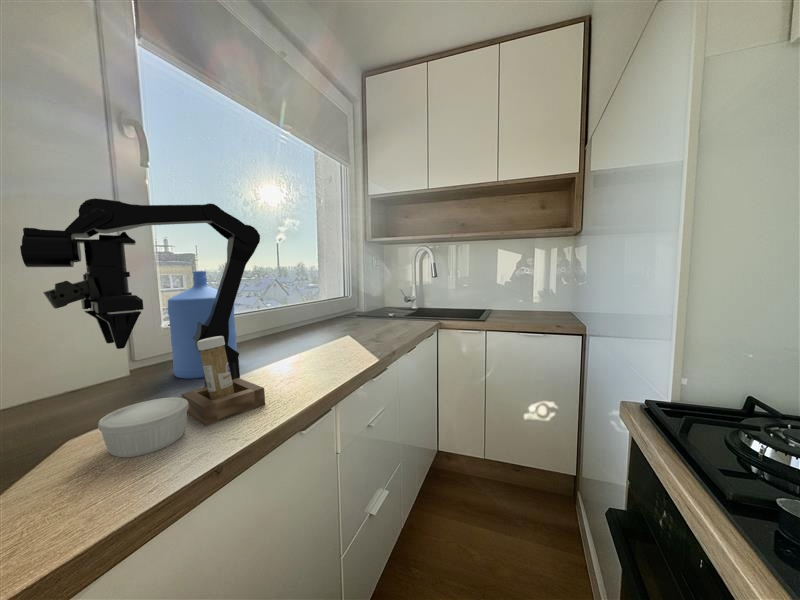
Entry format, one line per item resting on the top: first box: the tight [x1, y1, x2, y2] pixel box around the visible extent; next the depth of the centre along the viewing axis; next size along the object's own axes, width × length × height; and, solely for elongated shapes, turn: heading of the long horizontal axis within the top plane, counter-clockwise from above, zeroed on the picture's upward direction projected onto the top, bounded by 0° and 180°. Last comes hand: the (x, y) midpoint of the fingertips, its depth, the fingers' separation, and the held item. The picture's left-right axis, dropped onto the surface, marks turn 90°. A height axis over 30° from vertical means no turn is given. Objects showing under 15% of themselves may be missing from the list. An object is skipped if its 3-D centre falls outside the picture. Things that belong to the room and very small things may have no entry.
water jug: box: [167, 270, 238, 380], centre depth 87 cm, size 16×16×28 cm
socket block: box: [181, 377, 266, 427], centre depth 62 cm, size 11×11×4 cm
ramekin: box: [97, 396, 189, 458], centre depth 50 cm, size 11×11×5 cm
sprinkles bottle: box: [197, 336, 234, 401], centre depth 62 cm, size 5×5×14 cm
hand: (115, 345), depth 62 cm, fingers open, 9 cm apart
